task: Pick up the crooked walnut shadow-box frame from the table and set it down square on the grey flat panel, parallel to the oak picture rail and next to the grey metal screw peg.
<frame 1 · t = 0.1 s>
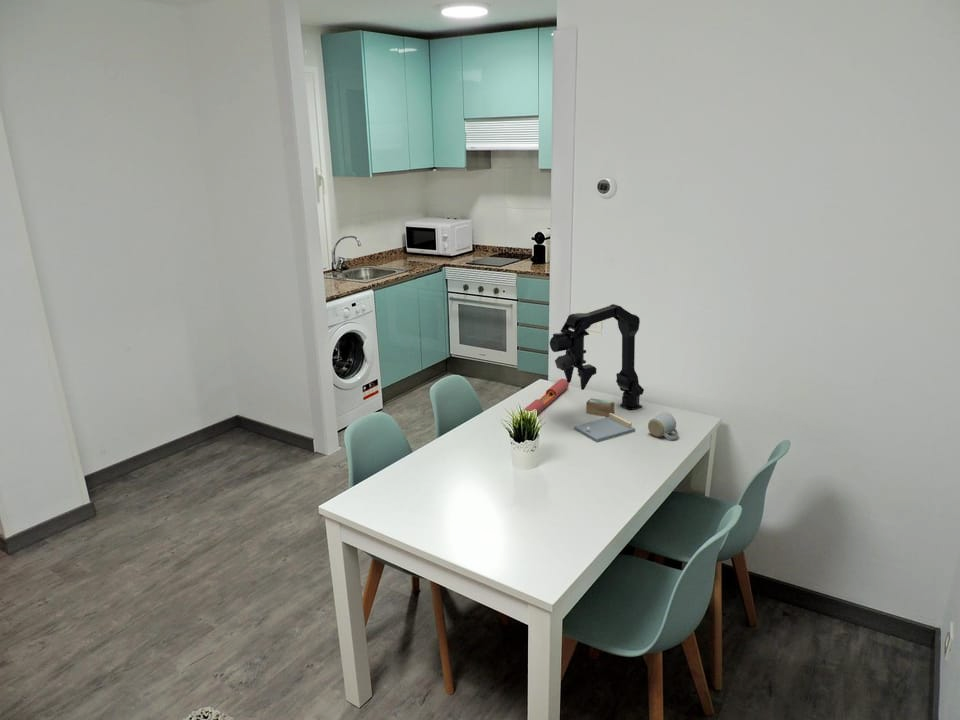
hand: (575, 386, 254), 15 cm above the table, tool pointing down, fingers open, 9 cm apart
frame: (600, 413, 265), on the table
grey flat panel: (604, 430, 249), on the table
blood vessel: (545, 405, 276), on the table
ceramic mug: (664, 435, 244), on the table
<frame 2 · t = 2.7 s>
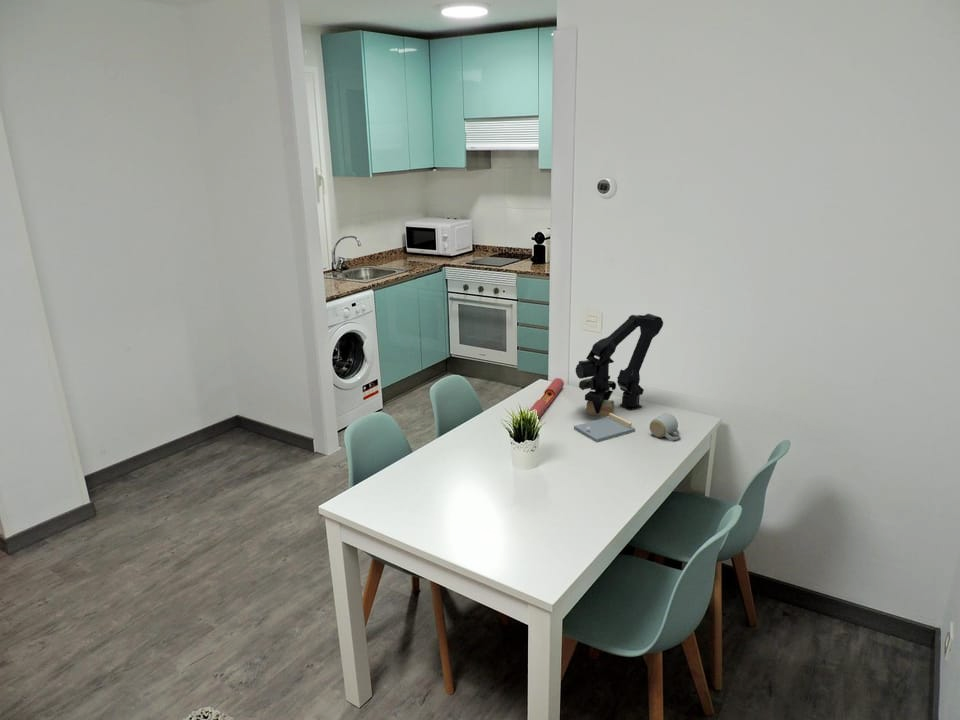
hand: (600, 410, 265), 1 cm above the table, tool pointing down, fingers closed on frame, 5 cm apart
frame: (600, 413, 265), on the table, touching gripper
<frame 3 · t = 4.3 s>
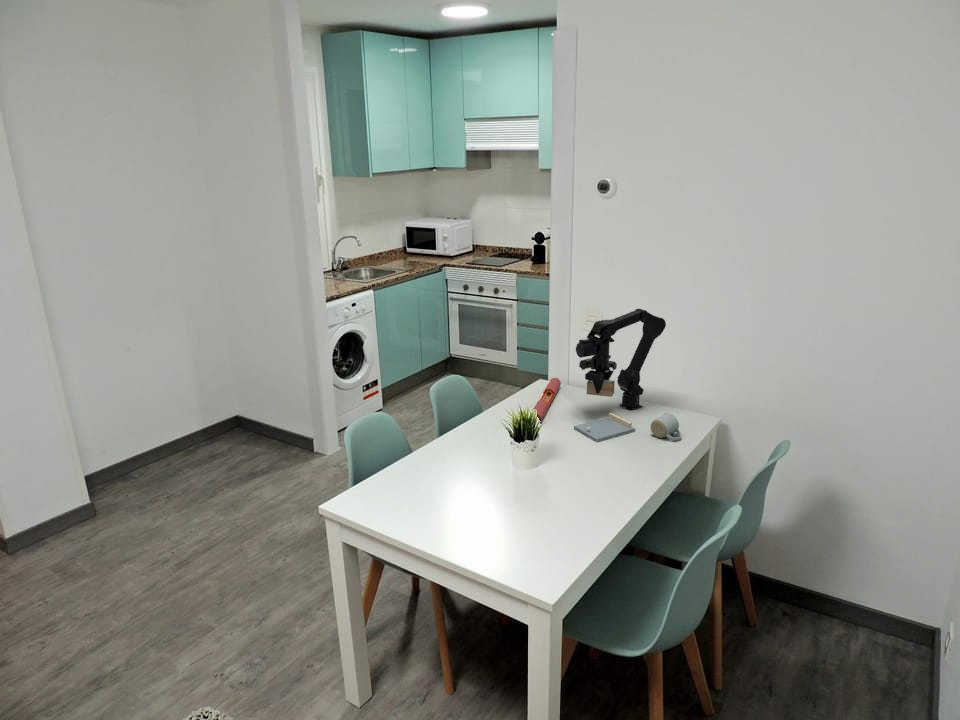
hand: (600, 390, 262), 10 cm above the table, tool pointing down, fingers closed on frame, 5 cm apart
frame: (600, 393, 262), point 9 cm above the table, touching gripper
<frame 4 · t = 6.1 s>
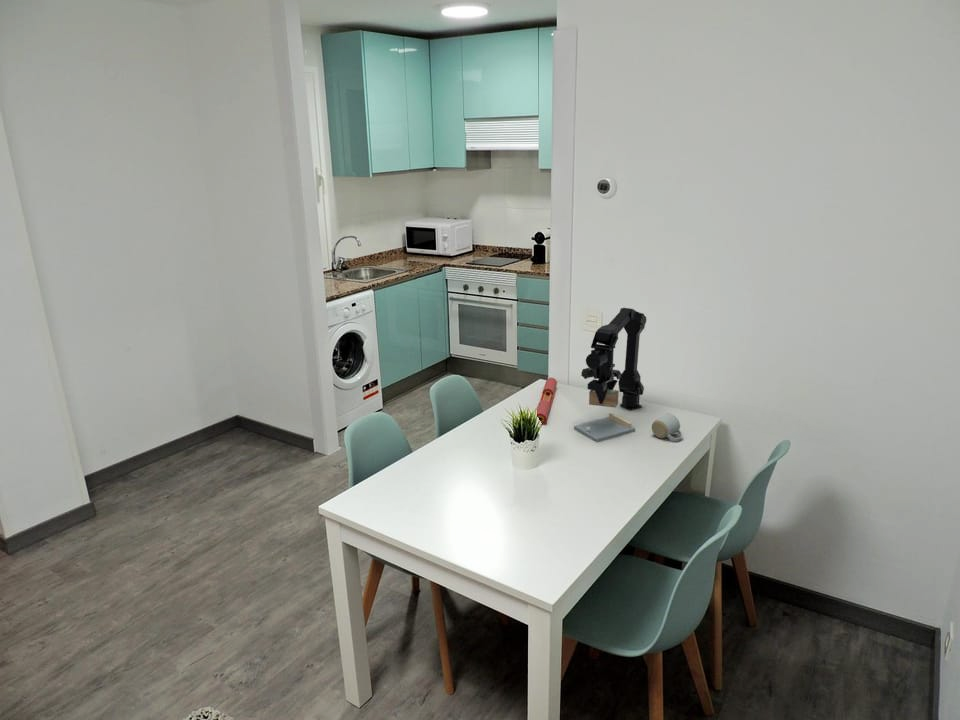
hand: (603, 401, 248), 11 cm above the table, tool pointing down, fingers closed on frame, 5 cm apart
frame: (603, 403, 249), point 10 cm above the table, touching gripper
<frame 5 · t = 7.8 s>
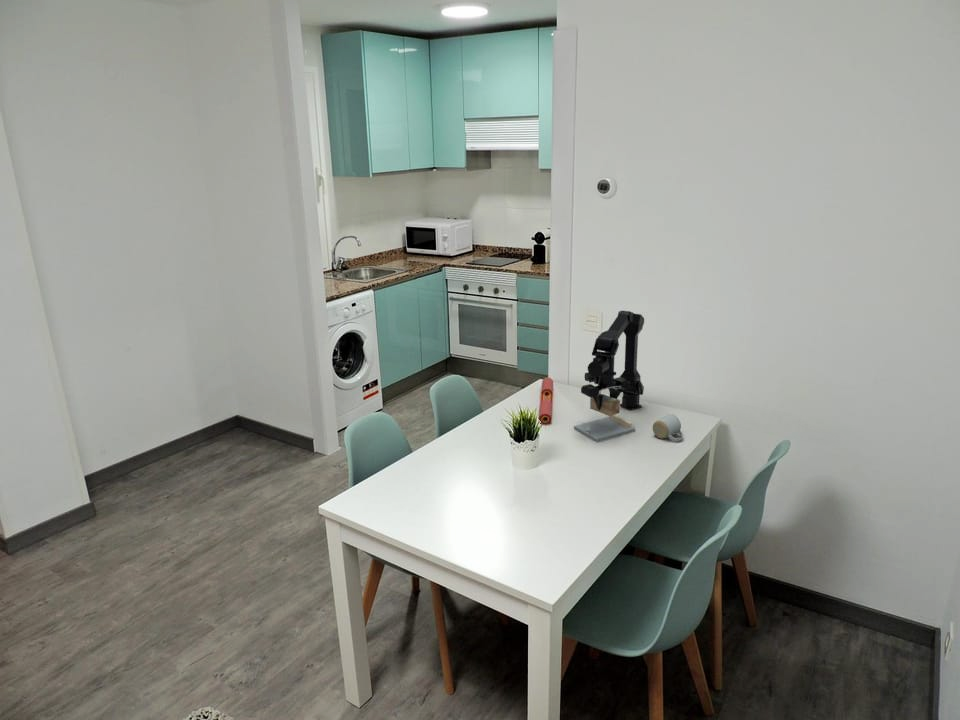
hand: (604, 408, 247), 9 cm above the table, tool pointing down, fingers closed on frame, 5 cm apart
frame: (604, 410, 247), point 8 cm above the table, touching gripper
when the fingers open (4 cm above the table, at t = 9.5 s): frame drops 1 cm, resting on grey flat panel.
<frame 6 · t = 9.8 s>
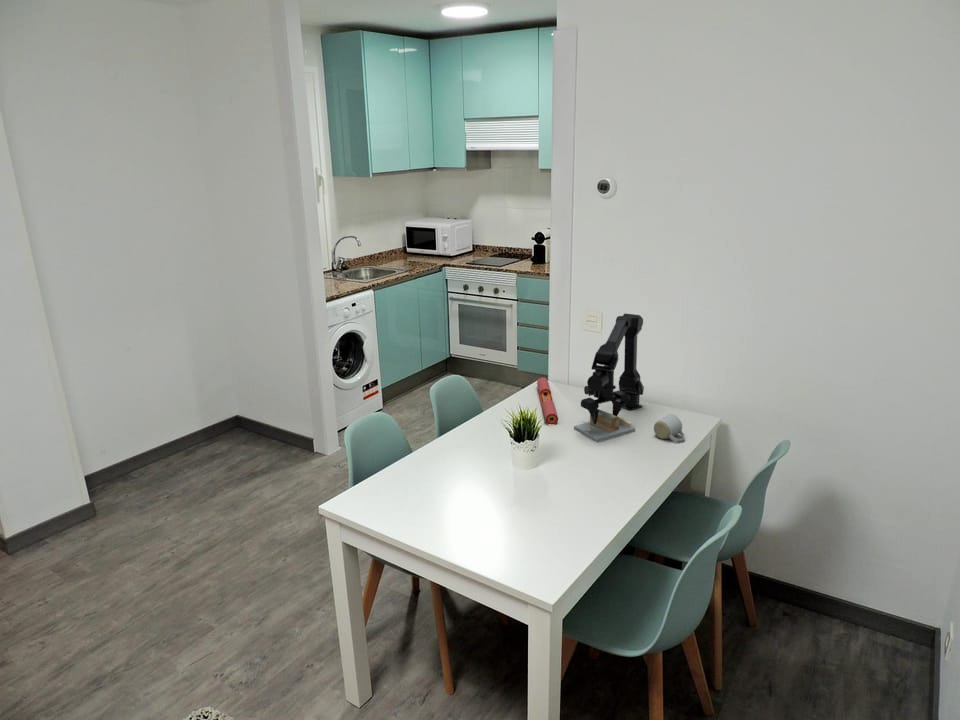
hand: (604, 421, 248), 4 cm above the table, tool pointing down, fingers open, 9 cm apart
frame: (604, 427, 249), point 1 cm above the table, touching grey flat panel
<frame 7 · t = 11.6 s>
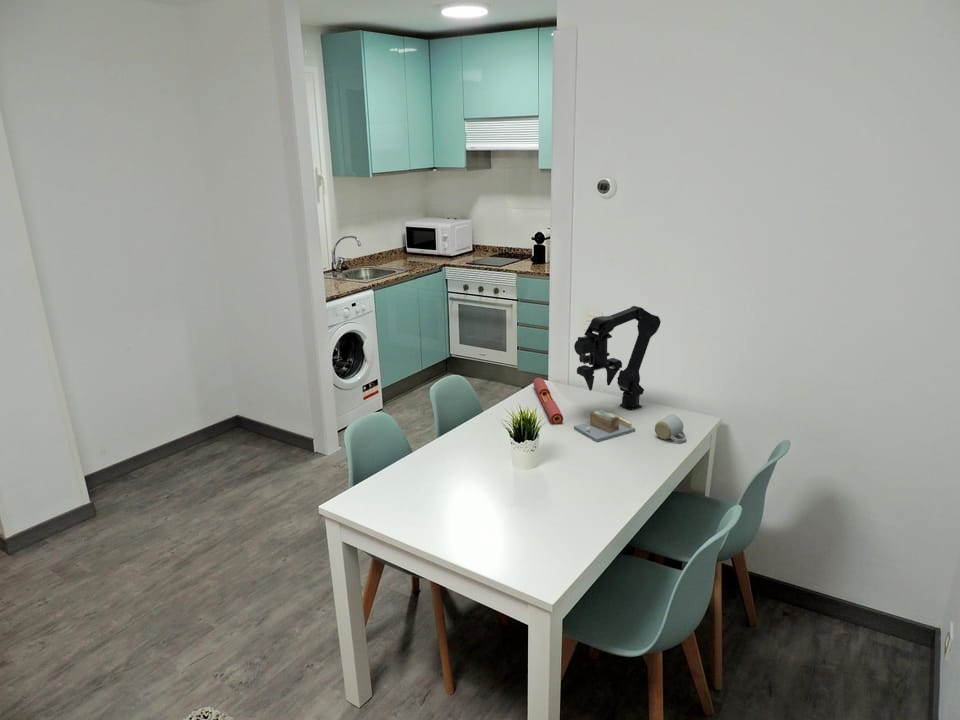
hand: (599, 387, 260), 12 cm above the table, tool pointing down, fingers open, 9 cm apart
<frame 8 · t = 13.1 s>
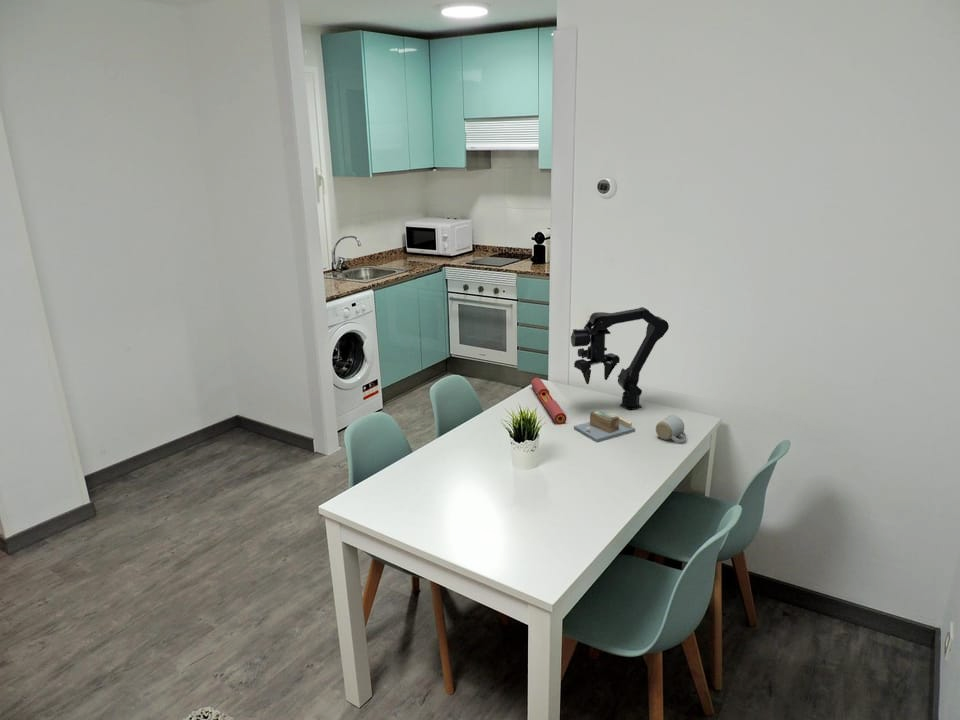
hand: (596, 381, 265), 12 cm above the table, tool pointing down, fingers open, 9 cm apart
at the end: frame 0.1 cm off-centre on the grey flat panel, point 1.2 cm above the grey flat panel's base; frame tilted 0°; the gripper is holding nothing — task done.
